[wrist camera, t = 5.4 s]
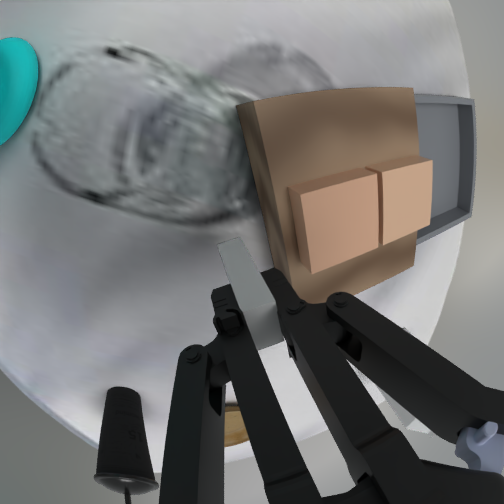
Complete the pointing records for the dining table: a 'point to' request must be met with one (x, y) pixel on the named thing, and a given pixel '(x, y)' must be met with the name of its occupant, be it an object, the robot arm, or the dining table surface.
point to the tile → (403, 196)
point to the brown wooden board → (327, 171)
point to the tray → (447, 158)
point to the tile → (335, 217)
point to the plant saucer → (234, 427)
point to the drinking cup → (124, 446)
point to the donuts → (16, 83)
